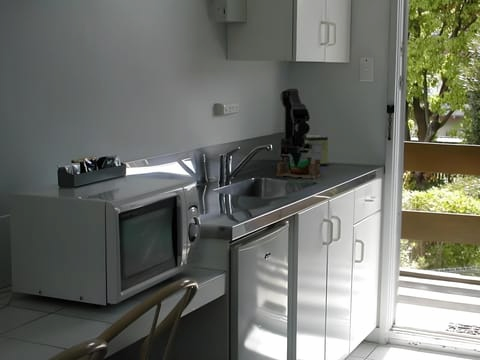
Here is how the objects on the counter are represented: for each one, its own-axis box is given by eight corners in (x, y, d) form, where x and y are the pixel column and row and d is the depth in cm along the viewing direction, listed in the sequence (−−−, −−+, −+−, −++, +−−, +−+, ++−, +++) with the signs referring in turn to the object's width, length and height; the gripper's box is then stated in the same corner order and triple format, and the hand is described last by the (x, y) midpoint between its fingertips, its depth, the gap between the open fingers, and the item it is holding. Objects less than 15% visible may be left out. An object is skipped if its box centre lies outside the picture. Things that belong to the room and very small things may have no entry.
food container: (282, 172, 350) (284, 151, 350) (288, 172, 356) (289, 152, 355) (306, 174, 344) (308, 152, 344) (311, 174, 350) (313, 153, 350)
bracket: (285, 173, 360) (285, 157, 359) (321, 175, 351) (321, 159, 350) (276, 176, 351) (276, 159, 350) (312, 178, 342) (313, 161, 341)
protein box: (317, 162, 401) (317, 134, 399) (327, 166, 387) (328, 137, 384) (299, 163, 399) (299, 135, 396) (309, 167, 384) (309, 137, 381)
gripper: (291, 130, 360) (291, 162, 362) (275, 133, 344) (275, 166, 346) (312, 131, 355) (312, 163, 357) (296, 134, 339) (296, 168, 341)
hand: (298, 165), depth 350 cm, fingers closed on food container, 5 cm apart
